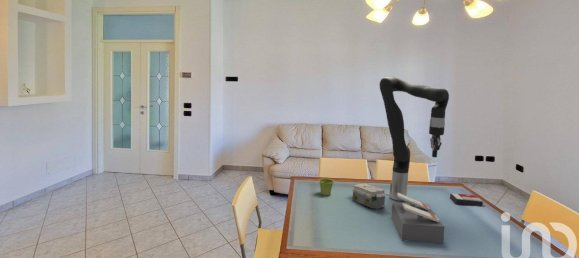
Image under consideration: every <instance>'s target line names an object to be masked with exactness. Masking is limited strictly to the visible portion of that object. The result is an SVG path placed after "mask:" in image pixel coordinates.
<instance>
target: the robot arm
mask: <svg viewBox="0 0 579 258" xmlns="http://www.w3.org/2000/svg"><path fill="white" fill-rule="evenodd" d="M378 86H379V91H380V94H381V97H382V101H383V105H384V109H385V113H386V121H387V125H388V130H389V134H390V137H391V142H392V143H391V144H392V155H393V164H392V165H393V166H392V174H391V176H392V177H391V182H390V183H389V184H390V185H389V195H390V196H388V197H389V198H390V199H392V200H394V201H400V202H401V201H403V202H404V201H405V200H402V199H400V198H399V197H398V195H397V193H400V194H402V195H405V196H407V195H408V182H409V169H410V162H411V161H410V160H411V150H410V148H409V147H408V146H407V144H406V139H405V121H404V116H403V112H402V110H401V108H400V106H399V105H398V104H397V102H396V100H395V96H394V92H403V93H406V94H408V95H409V96H413V97H415V98H416V97H417V98H419V99H425V100H428V101H431V102H434V106H432V108H431V109H430V120H429V126H428V127H429V128H428V134H430V135H431V138H429V140H430V148H431V152H432V154H431V157H432V158H437V157H438V151H440V148H441V146H442V142H441V141H442V140H441V139H442V138H441V136H443V135H444V134H445V126H446V109H447V106H448V104H449V99H450V94H449V91H448V90H447V89H445V88H434V87H430V86H428V85H424V84H419V83H414V82H413V83H412V82H409V81H406V80H403V79H401V78H398V77H395V76H388V77H386V76H385V77H383V78H381V79H380V81H379V85H378ZM407 197H408V196H407Z"/></svg>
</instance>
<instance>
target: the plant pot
mask: <svg viewBox="0 0 579 258" xmlns="http://www.w3.org/2000/svg"><path fill="white" fill-rule="evenodd" d="M318 182H319V187H320V194H321V195H322V196H325V195H326V196H330V195H331V193H332V188H333V184H334V180H333V179H331V178H320V179H319V180H318Z"/></svg>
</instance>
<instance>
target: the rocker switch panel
mask: <svg viewBox="0 0 579 258" xmlns="http://www.w3.org/2000/svg"><path fill="white" fill-rule="evenodd" d="M391 203H392V204H391V213H390V214H391V215H390V216H391V219H392V222H393V223H394V225H395V228H396V231H397V232H398V236H399V237H401V238H400V239H402V240H401V241H404V240H409V241H408V242H417V241H419V243H432V244H444V237H445V227H446V226H445V225H444V223H443V222H442V221H441V220H440V221H439V222H436V221H434V220H431V219H428V218H426V217H423V216H420V215H418V214H415V213H412V212H410V211H407V210H405V209H404V207H403V203H404V204H407V205H409V206H412V207H415V208H417V209H420V210H423V211H425V212H428V213H431V214H433V215H436V213H435V212H434V211H433V209H432V208H431V207H430V205H429V204H428V203H426V205H427V206H428V207H429V208H430V210H429V211H428V210H426V209H424V208H421V207H419V206H417V205H414V204H412V203H410V202H396V201H392V202H391ZM436 217H437V218H438V219H439V217H438V216H437V215H436Z"/></svg>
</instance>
